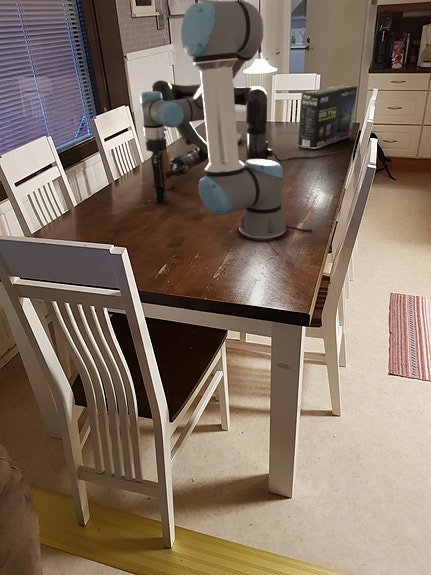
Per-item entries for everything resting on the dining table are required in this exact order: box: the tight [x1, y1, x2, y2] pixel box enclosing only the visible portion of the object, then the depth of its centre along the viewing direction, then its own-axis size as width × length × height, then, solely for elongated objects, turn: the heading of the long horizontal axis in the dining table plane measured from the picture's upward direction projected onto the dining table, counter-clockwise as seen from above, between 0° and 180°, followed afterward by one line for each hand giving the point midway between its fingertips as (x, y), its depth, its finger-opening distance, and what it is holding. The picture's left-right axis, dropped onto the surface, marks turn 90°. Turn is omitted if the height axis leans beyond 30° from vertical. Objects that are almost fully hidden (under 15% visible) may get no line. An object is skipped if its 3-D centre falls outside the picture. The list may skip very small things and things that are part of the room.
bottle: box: [161, 148, 173, 190], centre depth 187 cm, size 5×5×19 cm
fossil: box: [237, 130, 246, 143], centre depth 252 cm, size 18×11×15 cm
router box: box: [297, 84, 358, 151], centre depth 238 cm, size 36×11×27 cm, turn 134°
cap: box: [155, 192, 168, 202], centre depth 175 cm, size 4×4×2 cm
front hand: (161, 200), depth 176 cm, fingers closed on cap, 4 cm apart
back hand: (161, 174), depth 186 cm, fingers closed on bottle, 4 cm apart
